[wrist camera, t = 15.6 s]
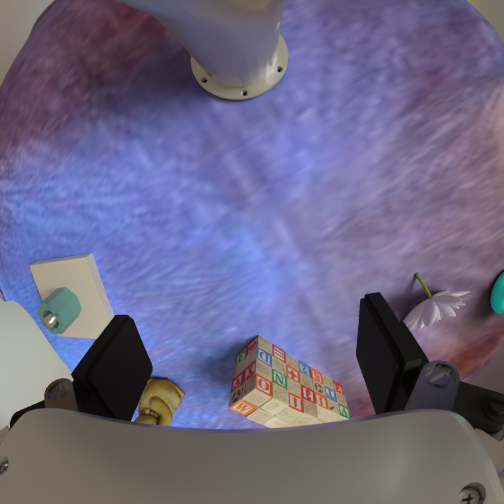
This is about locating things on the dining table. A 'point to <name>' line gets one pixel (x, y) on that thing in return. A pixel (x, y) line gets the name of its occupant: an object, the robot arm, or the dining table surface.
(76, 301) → the bead
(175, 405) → the decorative figurine
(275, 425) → the stack of blocks
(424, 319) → the water lily
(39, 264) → the board
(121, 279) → the dining table surface
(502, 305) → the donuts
